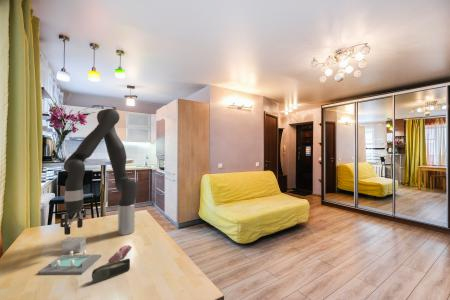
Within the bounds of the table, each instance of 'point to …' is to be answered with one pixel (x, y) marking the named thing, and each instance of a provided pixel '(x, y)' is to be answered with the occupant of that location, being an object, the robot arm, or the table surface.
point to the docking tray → (70, 264)
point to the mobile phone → (110, 270)
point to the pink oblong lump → (120, 254)
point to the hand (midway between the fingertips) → (73, 230)
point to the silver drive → (73, 244)
